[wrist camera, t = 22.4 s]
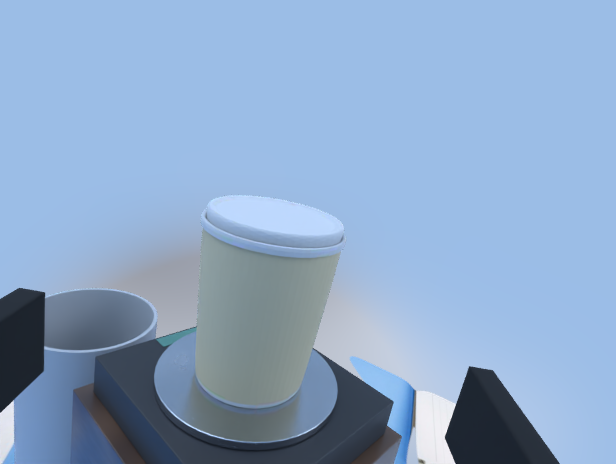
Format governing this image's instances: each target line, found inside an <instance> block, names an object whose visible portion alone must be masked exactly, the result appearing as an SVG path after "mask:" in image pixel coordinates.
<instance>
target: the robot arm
mask: <svg viewBox="0 0 616 464" xmlns="http://www.w3.org/2000/svg"><path fill="white" fill-rule="evenodd" d="M44 337H45V293H44V292H40V291H34V290H28V289H23V288H19V289H17V290H15V291H13V292H11V293H10V294H8V295H6V296H4V297H3V298H1V299H0V413H1V412H2V411H3V410H4V409H5V408H6V407H7V406H8V405H9V404H10V403H11V402H12V401H13V400H14V399H15V398H16V397H17V396H18V395H19V394H21V393H22V392H23V391H24V390H25V389H26V388H27V387H28V386H29V385H30V384H31V383H32V382H33V381H34V380H35V379H36V378H37V377H38V376H39V375H40V374H42V373H43V372H44ZM445 439H446V442H447V444H448V447H449V449H450V451H451V454H452V456H453V459H454V461H455V463H456V464H559V462H558V461H557V459H556V458H555V457H554V455H553V454H552V452H551V451H550V449H549V448H548V447H547V445H546V444H545V442H544V441H543V440H542V438H541V437H540V436H539V434H538V433H537V432H536V430H535V429H534V427H533V426H532V424H531V423H530V422H529V420H528V419H527V417H526V416H525V415H524V414H523V412H522V410H521V409H520V408H519V406H518V405H517V404H516V402H515V401H514V399H513V398H512V396H511V395H510V394H509V392H508V391H507V389H506V388H505V387H504V386H503V384H502V383H501V381H500V380H499V379H498V377H497V375H496V374H495V373H494V371H493V370H487V369H481V368H476V367H469V369H468V372H467V375H466V377H465V380H464V383H463V387H462V389H461V392H460V395H459V398H458V401H457V404H456V406H455V409H454V412H453V415H452V418H451V421H450V424H449V427H448V430H447V433H446V435H445Z"/></svg>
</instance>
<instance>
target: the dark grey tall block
mask: <svg viewBox="0 0 616 464" xmlns="http://www.w3.org/2000/svg"><path fill="white" fill-rule="evenodd" d="M93 390H94V383H91V384H88V385H85V386H82V387H79V388H76V389H74V390H73V406H72V432H71V458H70V464H146V462H145V461H144V460H143V458H142V457H141V456H140V454H139V453H138V451H137V450H136V449H135V447H134V446H133V445H132V443H131V442H130V441H129V439H128V438H127V436H126V435H125V434H124V432H123V431H122V430H121V428H120V427H119V426H118V424H117V423H116V422H115V420H114V419H113V417H112V416H111V415H110V413H109V412H108V411H107V409H106V408H105V407H104V405H103V404H102V403H101V401H100V400H99V398H98V397H97V396H96V394H95V393H94V392H93ZM401 438H402V436H401V435H399V434H398V433H396V432H395V431H394V430H392V429H391V428H389V427H388V426H386V430H385V433H384V435H382V436H381V437H380V438H379V439H378V440H377V441H376V442H374V443H373V444H372V445H371V446H370V447H369V448H368V449H366V450H365V451H364V452H363V453H362V454H361V455H360V456H358V457H357V458H356V459H355V460H354V461H353V462H352V463H350V464H394V460H395V457H396V454H397V451H398V448H399V444H400V441H401Z"/></svg>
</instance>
